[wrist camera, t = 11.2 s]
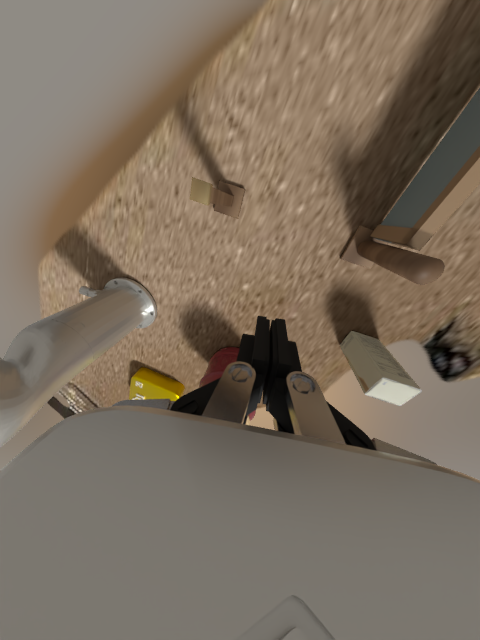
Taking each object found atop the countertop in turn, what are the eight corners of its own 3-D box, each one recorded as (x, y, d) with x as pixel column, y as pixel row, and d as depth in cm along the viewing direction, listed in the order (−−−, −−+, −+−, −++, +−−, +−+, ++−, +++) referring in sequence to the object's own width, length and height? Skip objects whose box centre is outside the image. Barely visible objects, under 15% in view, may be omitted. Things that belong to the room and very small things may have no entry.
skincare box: (338, 345, 38) (361, 394, 27) (351, 329, 36) (381, 376, 25) (367, 355, 38) (401, 408, 27) (381, 340, 36) (424, 391, 25)
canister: (268, 357, 43) (264, 433, 28) (249, 388, 50) (237, 463, 35) (218, 337, 43) (186, 404, 28) (206, 371, 50) (175, 439, 35)
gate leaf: (379, 240, 26) (419, 250, 19) (369, 236, 26) (406, 244, 19) (550, 14, 16) (791, -163, 8) (534, 6, 16) (764, -180, 8)
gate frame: (390, 236, 27) (480, 253, 15) (368, 268, 29) (430, 304, 18) (221, 176, 27) (176, 147, 15) (214, 213, 30) (172, 213, 18)
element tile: (176, 408, 63) (169, 421, 58) (136, 391, 62) (127, 403, 58) (186, 384, 55) (179, 397, 51) (140, 364, 54) (129, 376, 50)
